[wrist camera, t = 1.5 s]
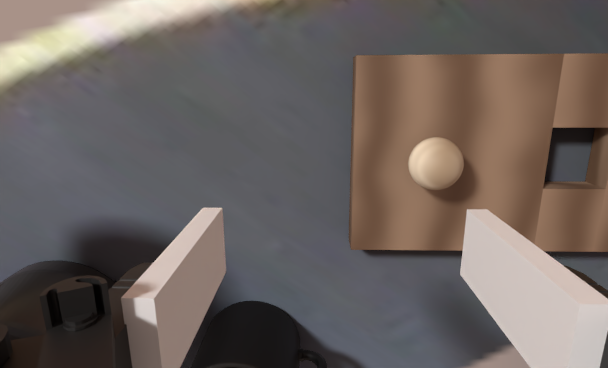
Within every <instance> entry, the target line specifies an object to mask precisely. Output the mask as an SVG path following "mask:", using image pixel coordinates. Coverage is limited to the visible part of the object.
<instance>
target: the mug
mask: <svg viewBox="0 0 608 368" xmlns="http://www.w3.org/2000/svg"><path fill="white" fill-rule="evenodd" d="M303 360H309V361H312V362H314V363H315V364H316V365H317V367H318V368H327V365H326V361H325V359H324V358H323V357H322V356H321V355H320V354H318V353H316V352H313V351H309V350H303V349H300V337H299V333H298V331H297V328H296V326H295V325H294V323H293V322H292V320H291V319H290V318H289V317H288V316H287V315H286V314H285V313H284V312H283V311H281V310H280V309H278V308H277V307H275V306H273V305H270V304H268V303H264V302H259V301H244V302H239V303H236V304H232V305H231V306H229V307H227V308H225V309H223V310H222V311H221V312H219V313H218V314H217V315H216V316H215V317H214V319H213V320H212V322H211V323H210V326H209V328H208V330H207V332H206V335H205V337H204V339H203V341H202V344H201V346H200V348H199V350H198V353H197V355H196V357H195V359H194V362H193V364H192V366H191V368H299V361H303Z"/></svg>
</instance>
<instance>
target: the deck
mask: <svg viewBox="0 0 608 368" xmlns="http://www.w3.org/2000/svg"><path fill="white" fill-rule="evenodd" d="M553 128H595V131H594V136H593V142H592V147H591V153H590V158H589V163H588V169H587V174H586V180H585V182H544V180H545V173H546V167H547V161H548V154H549V148H550V141H551V135H552V129H553ZM433 137H440V138H445V139H448V140H450V141H451V142H453V143H454V144H455V145H456V146H457V147H458V148H459V149H460V151H461V153H462V155H463V160H464V167H463V171H462V174H461V176H460V177H459V179H458V180H457V181H456V182H455V183H454V184H453V185H451V186H450V187H447V188H445V189H441V190H430V189H426V188H424V187H422V186H420V185H419V184H417V183H416V182H415V181H414V180H413V178H412V177H411V175H410V172H409V168H408V160H409V156H410V153H411V151H412V150H413V148H414V147H415V146H416V145H417V144H418V143H420V142H421V141H423V140H425V139H428V138H433ZM467 209H487V210H489V211H490V212H491V213H493V214H494V215H495V216H497V217H498V218H499V219H501V220H502V221H503V222H505V223H506V224H507V225H509V226H510V227H512V228H513V229H514V230H516V231H517V232H518V233H520V234H521V235H522V236H524V237H525V238H526V239H528V240H529V241H530V242H532V243H533V244H534V245H536V246H537V247H538V248H540V249H541V250H543V251H570V252H608V54H476V55H356V56H355V57H353V95H352V134H351V172H350V211H349V242H350V247H351V250H456V251H463V242H464V233H465V223H466V214H467Z"/></svg>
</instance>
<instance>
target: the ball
mask: <svg viewBox="0 0 608 368" xmlns="http://www.w3.org/2000/svg"><path fill="white" fill-rule="evenodd" d="M463 167H464V160H463V155H462V153H461V151H460V149H459V148H458V147H457V146H456V145H455V144H454V143H453V142H451V141H450V140H448V139H445V138H440V137H433V138H428V139H425V140H423V141H421V142H420V143H418V144H417V145H416V146H415V147H414V148H413V150H412V151H411V153H410V156H409V160H408V168H409V172H410V175H411V177H412V178H413V180H414V181H415V182H416V183H417V184H419V185H420V186H422V187H424V188H426V189H430V190H441V189H445V188H447V187H450V186H451V185H453V184H454V183H455V182H456V181H457V180H458V179H459V177H460V176H461V174H462V171H463Z"/></svg>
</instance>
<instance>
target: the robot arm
mask: <svg viewBox="0 0 608 368" xmlns="http://www.w3.org/2000/svg"><path fill="white" fill-rule="evenodd" d="M225 273H226V261H225V245H224V228H223V211H222V208H202V209H201V211H200V212H199V213H198V214H197V215H196V216H195V217H194V218H193V219H192V220H191V222H190V223H189V224H188V225H187V226H186V227H185V228H184V229H183V230H182V232H181V233H180V234H179V235H178V236H177V237H176V238H175V239H174V240H173V241H172V243H171V244H170V245H169V246H168V247H167V248H166V249H165V250H164V251H163V252H162V254H161V255H160V256H159V257H158V258H157V259H156V260H155V261H154V262H153V263H141V264H139V265H137V266H135V267H133V268H132V269H130V270H128V271H127V272H126V273H125V274H124V275H123V276H122V277H121V278H120V281H117V282H116V283H115V282H113V281H112V280H111V279H109V278H108V277H107V276H105V275H103V274H102V273H100V272H98V271H96V270H94V269H92V268H90V267H87V266H84V265H81V264H78V263H73V262H68V261H44V262H39V263H35V264H32V265H29V266H27V267H25V268H23V269H21V270H19V271H18V272H16V273H15V274H13V275H11V276H10V277H8V278H7V279H5V280H4V281H2V282H1V283H0V368H180V367H181V365H182V363H183V361H184V359H185V357H186V354H187V352H188V350H189V348H190V346H191V344H192V342H193V340H194V338H195V336H196V334H197V331H198V329H199V327H200V325H201V323H202V321H203V319H204V317H205V315H206V313H207V311H208V308H209V306H210V304H211V302H212V300H213V298H214V296H215V294H216V292H217V290H218V288H219V285H220V283H221V281H222V279H223V277H224V275H225ZM460 275H461V276H462V277H463V279H464V280H465V281H466V283H467V284H468V285H469V287H470V288H471V289H472V291H473V292H474V293H475V295H476V296H477V297H478V299H479V300H480V301H481V303H482V304H483V305H484V307H485V308H486V309H487V311H488V312H489V313H490V315H491V316H492V317H493V319H494V320H495V321H496V323H497V324H498V325H499V327H500V328H501V329H502V331H503V332H504V333H505V335H506V336H507V337H508V339H509V340H510V341H511V343H512V344H513V345H514V347H515V348H516V349H517V351H518V352H519V353H520V355H521V356H522V357H523V358H524V360H525V361H526V363H527V364H528V365H529V367H530V368H608V291H607V290H606V289H605V288H603V287H602V286H600V285H597V283H596V282H595V281H593V280H592V279H591V278H589V277H588V276H586V275H585V274H583V273H581V272H579V271H577V270H574V269H572V268H570V267H568V266H563V265H561V264H560V263H559V262H557V261H556V260H555V259H553V258H552V257H551V256H549V255H548V254H547V253H545V252H544V251H543V250H541V249H540V248H538V247H537V246H536V245H534V244H533V243H532V242H530V241H529V240H528V239H526V238H525V237H524V236H522V235H521V234H520V233H518V232H517V231H516V230H514V229H513V228H512V227H510V226H509V225H507V224H506V223H505V222H503V221H502V220H501V219H499V218H498V217H497V216H495V215H494V214H493V213H491V212H490V211H489V210H487V209H467V214H466V223H465V233H464V242H463V252H462V261H461V270H460Z"/></svg>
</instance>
